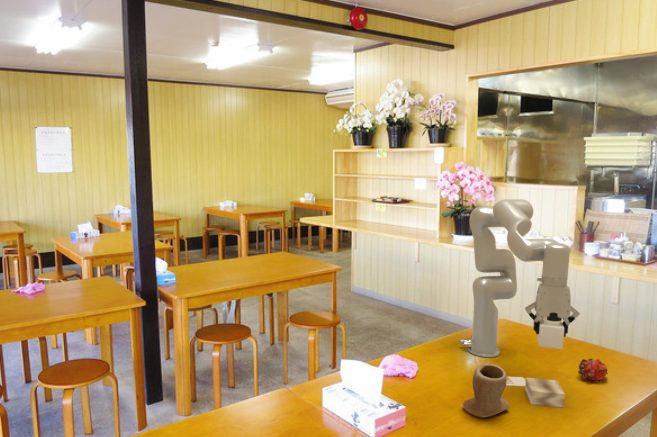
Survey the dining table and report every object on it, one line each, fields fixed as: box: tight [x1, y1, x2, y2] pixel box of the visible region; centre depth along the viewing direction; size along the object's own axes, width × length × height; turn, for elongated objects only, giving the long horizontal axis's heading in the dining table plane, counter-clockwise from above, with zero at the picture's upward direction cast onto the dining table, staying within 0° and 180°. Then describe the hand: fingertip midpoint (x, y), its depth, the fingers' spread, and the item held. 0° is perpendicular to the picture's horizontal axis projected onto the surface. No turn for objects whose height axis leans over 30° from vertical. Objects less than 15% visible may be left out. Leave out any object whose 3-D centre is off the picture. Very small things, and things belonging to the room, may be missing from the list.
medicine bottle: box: [536, 313, 565, 350], centre depth 163 cm, size 7×7×12 cm
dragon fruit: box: [577, 358, 608, 383], centre depth 181 cm, size 8×8×12 cm
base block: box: [524, 377, 566, 409], centre depth 166 cm, size 10×10×5 cm
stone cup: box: [462, 363, 511, 418], centre depth 157 cm, size 15×12×15 cm
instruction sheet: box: [506, 376, 526, 387], centre depth 179 cm, size 10×7×1 cm
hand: (550, 333), depth 163 cm, fingers closed on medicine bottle, 7 cm apart
